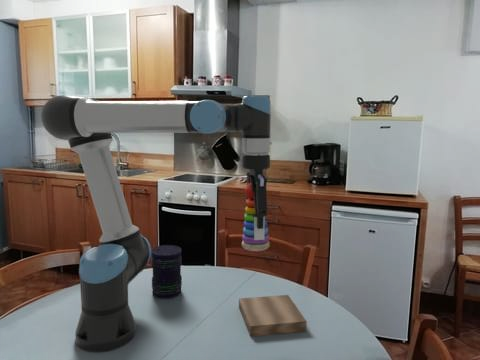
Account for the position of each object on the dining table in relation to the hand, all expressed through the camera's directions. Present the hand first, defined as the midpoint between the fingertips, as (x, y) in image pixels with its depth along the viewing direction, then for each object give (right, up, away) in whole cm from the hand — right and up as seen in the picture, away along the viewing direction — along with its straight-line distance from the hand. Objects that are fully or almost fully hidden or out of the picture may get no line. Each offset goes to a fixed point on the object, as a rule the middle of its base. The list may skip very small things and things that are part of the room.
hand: (255, 234), depth 103 cm
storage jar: (-29, -23, +21) cm, 42 cm away
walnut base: (+5, -26, +5) cm, 26 cm away
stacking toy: (0, -4, +1) cm, 4 cm away
